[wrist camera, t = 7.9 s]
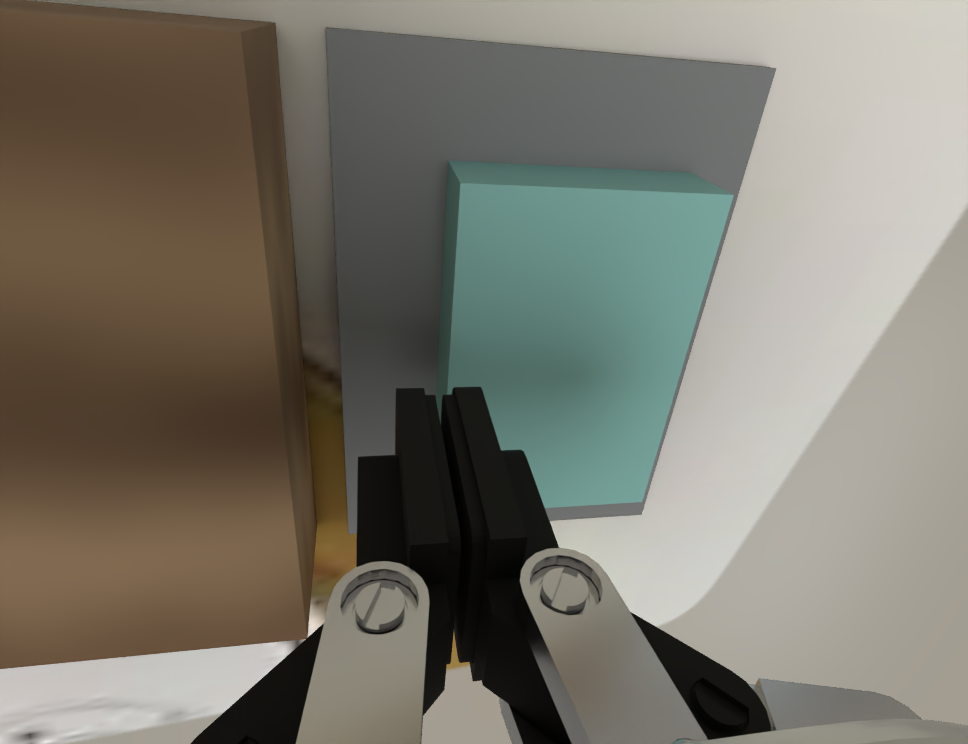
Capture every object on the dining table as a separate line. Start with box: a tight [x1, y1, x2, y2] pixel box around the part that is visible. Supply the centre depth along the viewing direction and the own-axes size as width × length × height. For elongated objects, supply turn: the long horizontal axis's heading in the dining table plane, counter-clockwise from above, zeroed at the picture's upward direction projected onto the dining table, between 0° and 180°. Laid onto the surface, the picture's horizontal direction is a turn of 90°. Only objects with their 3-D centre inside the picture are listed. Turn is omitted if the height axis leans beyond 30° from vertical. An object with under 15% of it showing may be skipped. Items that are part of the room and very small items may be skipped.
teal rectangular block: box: [436, 160, 734, 508], centre depth 16 cm, size 9×6×2 cm, turn 175°
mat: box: [326, 28, 776, 534], centre depth 16 cm, size 14×10×1 cm
